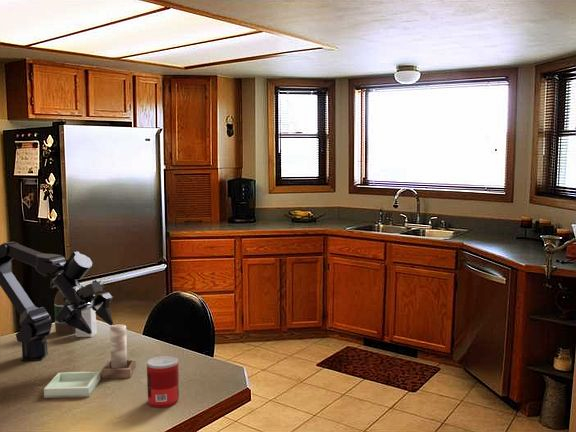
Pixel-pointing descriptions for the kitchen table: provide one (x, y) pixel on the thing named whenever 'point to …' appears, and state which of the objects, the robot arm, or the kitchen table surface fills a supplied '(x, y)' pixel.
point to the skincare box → (90, 320)
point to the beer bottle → (58, 305)
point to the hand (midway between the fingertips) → (101, 328)
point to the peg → (118, 346)
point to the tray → (72, 384)
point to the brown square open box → (119, 370)
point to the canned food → (162, 381)
